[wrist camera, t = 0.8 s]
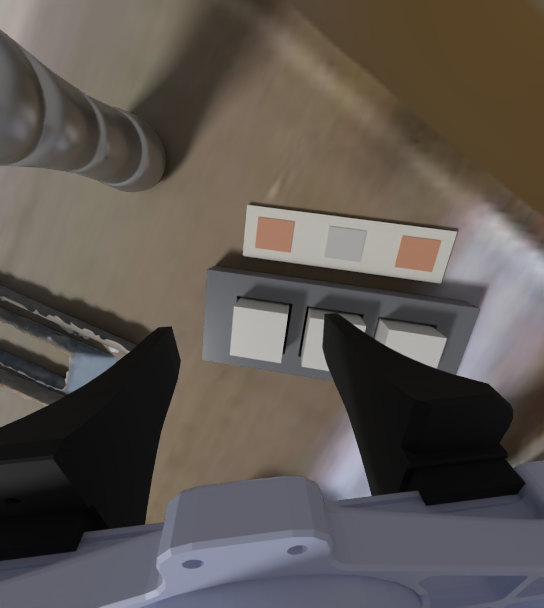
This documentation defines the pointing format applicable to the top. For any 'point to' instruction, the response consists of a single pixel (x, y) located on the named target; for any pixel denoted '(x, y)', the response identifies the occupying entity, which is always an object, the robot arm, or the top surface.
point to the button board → (306, 292)
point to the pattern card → (347, 243)
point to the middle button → (321, 336)
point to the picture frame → (82, 356)
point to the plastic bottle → (71, 127)
